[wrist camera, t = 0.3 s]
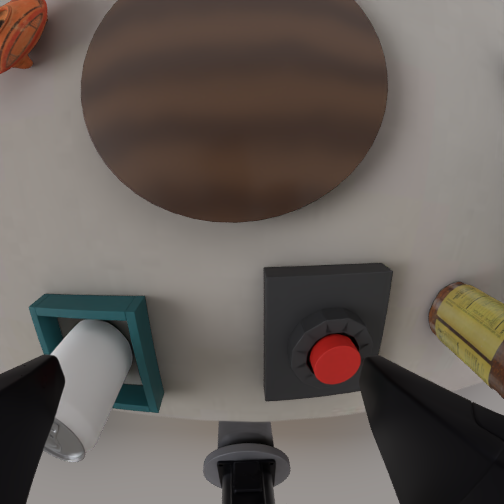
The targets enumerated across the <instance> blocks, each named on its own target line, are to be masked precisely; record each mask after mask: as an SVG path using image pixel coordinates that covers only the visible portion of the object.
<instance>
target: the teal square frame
mask: <svg viewBox="0 0 504 504" xmlns="http://www.w3.org/2000/svg"><path fill="white" fill-rule="evenodd" d="M29 310H30V313H31V317H32V320H33V323H34V326H35V330H36V333H37V336H38V339H39V342H40V344H41V347H42V350H43V353H44V354H48V355H50V354H51V353H52V352H53V351H54V350H55V348H56V347H57V346H58V345H59V344H60V343H61V341H62V340H63V336H62V333H61V330H60V327H59V323H58V320H57V317H63V318H78V319H96V320H119V321H127V323H128V328H129V333H130V337H131V342H132V346H133V350H134V354H135V358H136V362H137V366H138V370H139V374H140V378H141V381H142V385H143V386H140V385H128V384H122V387H121V389H120V391H119V393H118V396H117V398H116V400H115V402H114V405H113V407H112V408H116V409H124V410H133V411H143V412H154V413H159V410H160V406H161V402H162V398H163V395H164V390H163V386H162V381H161V377H160V373H159V368H158V364H157V359H156V354H155V350H154V345H153V339H152V334H151V329H150V323H149V318H148V312H147V306H146V300H145V296H100V295H61V294H44V295H43V296H42V297H40V298H39V299H38V300H37V301H35V302H34V303H33V304H32V305H30V306H29Z"/></svg>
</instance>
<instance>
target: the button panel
mask: <svg viewBox="0 0 504 504" xmlns="http://www.w3.org/2000/svg"><path fill="white" fill-rule="evenodd" d="M392 274H393V271H392V270H390V269H389V268H388V267H386V266H385V265H384V264H382V263H368V264H345V265H321V266H295V267H267V268H264V393H265V401H280V400H292V399H303V398H312V397H321V396H329V395H336V394H343V393H350V392H356V391H361V390H360V387H359V378H360V374H361V369H362V364H363V361H364V358H366V357H367V356H374V355H378V354H379V349H380V344H381V340H382V335H383V330H384V324H385V319H386V313H387V308H388V302H389V295H390V289H391V282H392ZM331 334H342V335H345V336H347V337H349V338H350V339H351V340H352V342H353V344H354V345H355V347H356V348H357V350H358V352H359V353H360V357H361V363H360V366H359V368H358V370H357V372H356V373H355V374H354V375H353V376H352V377H351V378H349V379H348V380H346V381H344V382H342V383H338V384H325V383H323V382H321V381H319V380H318V379H317V378H316V376H315V374H314V371H313V368H312V365H311V362H310V352H311V350H312V348H313V346H314V345H315V344H316V343H317V342H318V341H319V340H320V339H322V338H323V337H325V336H328V335H331Z"/></svg>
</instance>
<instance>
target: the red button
mask: <svg viewBox="0 0 504 504" xmlns="http://www.w3.org/2000/svg"><path fill="white" fill-rule="evenodd" d="M310 362H311V365H312V368H313V371H314V374H315V376H316V378H317V379H318V380H319V381H321V382H323V383H325V384H338V383H342V382H344V381H346V380H348V379H349V378H351V377H352V376H353V375H354V374H355V373H356V372H357V370H358V368H359V366H360V363H361V357H360V353H359V352H358V350H357V348H356V347H355V345H354V344H353V342H352V340H351V339H350V338H349V337H347V336H345V335H342V334H331V335H328V336H325V337H323V338H322V339H320V340H319V341H318V342H317V343H316V344H315V345H314V346H313V348H312V350H311V352H310Z"/></svg>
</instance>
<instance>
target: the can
mask: <svg viewBox="0 0 504 504" xmlns="http://www.w3.org/2000/svg"><path fill="white" fill-rule="evenodd" d="M50 355H54V356H56V357H57V358H58V360H59V363H60V366H61V368H62V371H63V374H64V376H65V386H64V389H63V392H62V396H61V399H60V402H59V406H58V409H57V413H56V416H55V419H54V423H53V425H52V428H51V431H50V433H49V436H48V438H47V441H46V444H45V447H44V449H43V451H45V452H47V453H48V454H50V455H52V456H54V457H56V458H59V459H61V460H64V461H69V462H79V461H81V460H83V459H84V457H85V453H87V452H88V451H90V450H91V449H93V448H94V447H95V445H96V443H97V441H98V439H99V437H100V435H101V432H102V430H103V428H104V425H105V423H106V421H107V418H108V416H109V414H110V411H111V409H112V407H113V405H114V402H115V400H116V398H117V396H118V393H119V391H120V389H121V387H122V384H123V382H124V380H125V378H126V376H127V373H128V371H129V369H130V366H131V364H132V359H133V356H132V350H131V347H130V345H129V343H128V341H127V339H126V338H125V336H124V335H123V334H122V333H121V332H120V331H119V330H118V329H117V328H116V327H114V326H113V325H111V324H109V323H107V322H105V321H102V320H96V319H85V320H82V321H80V322H79V323H78V324H77V325H76V326H75V327H74V328H73V329H72V330H71V331H70V332H69V333H68V334H67V336H66V337H65V338H64V339H63V340H62V341H61V343H60V344H59V345H58V346H57V347H56V348H55V350H54V351H53V352H52V353H51V354H50Z"/></svg>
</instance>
